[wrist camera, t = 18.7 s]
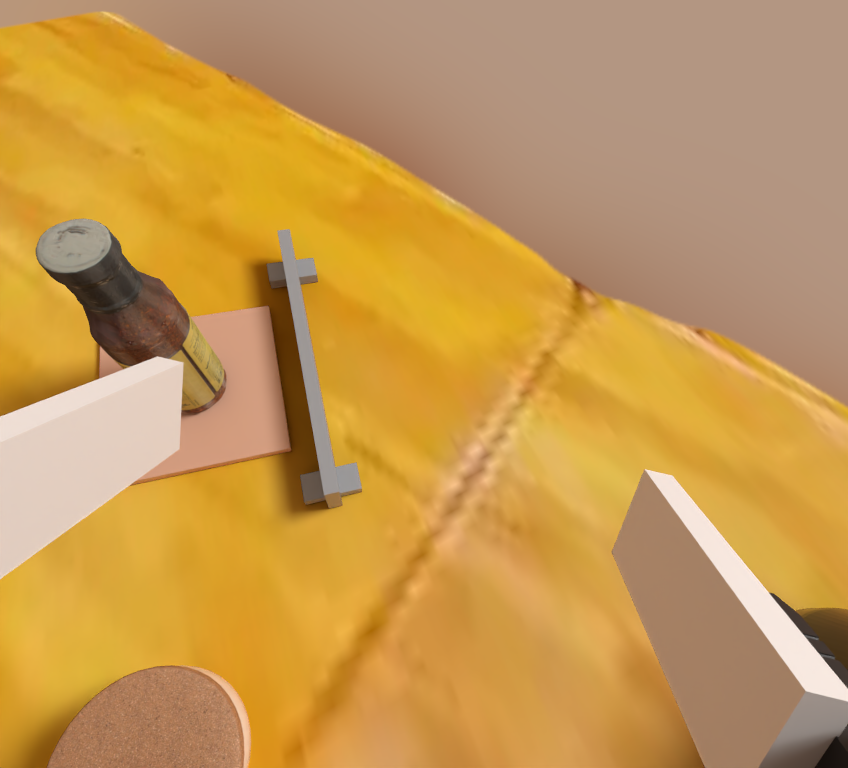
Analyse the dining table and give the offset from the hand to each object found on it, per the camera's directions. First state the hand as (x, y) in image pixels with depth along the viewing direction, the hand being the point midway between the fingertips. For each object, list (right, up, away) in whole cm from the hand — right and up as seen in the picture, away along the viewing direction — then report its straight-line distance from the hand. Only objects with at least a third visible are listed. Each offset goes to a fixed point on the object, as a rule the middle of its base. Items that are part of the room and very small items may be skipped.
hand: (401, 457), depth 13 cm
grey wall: (-11, +3, +34) cm, 36 cm away
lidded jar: (-16, -24, +21) cm, 35 cm away
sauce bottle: (-21, +2, +32) cm, 38 cm away
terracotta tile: (-21, +1, +32) cm, 39 cm away
